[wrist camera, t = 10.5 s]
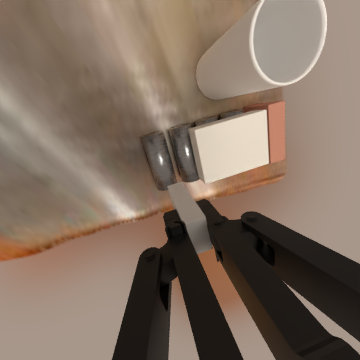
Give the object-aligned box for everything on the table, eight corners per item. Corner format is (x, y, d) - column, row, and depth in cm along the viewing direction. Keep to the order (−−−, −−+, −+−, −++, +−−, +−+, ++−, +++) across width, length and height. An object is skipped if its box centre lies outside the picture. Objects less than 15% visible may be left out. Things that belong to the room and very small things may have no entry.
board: (198, 177, 32) (205, 184, 29) (188, 128, 29) (194, 130, 26) (256, 158, 34) (268, 163, 30) (252, 110, 30) (266, 109, 27)
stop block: (248, 155, 38) (270, 163, 31) (243, 107, 34) (268, 105, 27) (260, 151, 38) (285, 158, 32) (257, 103, 34) (284, 100, 28)
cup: (187, 85, 30) (234, 54, 16) (210, 36, 29) (286, -51, 14) (224, 108, 33) (293, 101, 18) (246, 64, 31) (342, 18, 17)
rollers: (156, 185, 35) (158, 192, 31) (140, 136, 31) (141, 138, 28) (241, 158, 37) (252, 162, 34) (235, 109, 34) (247, 108, 30)
